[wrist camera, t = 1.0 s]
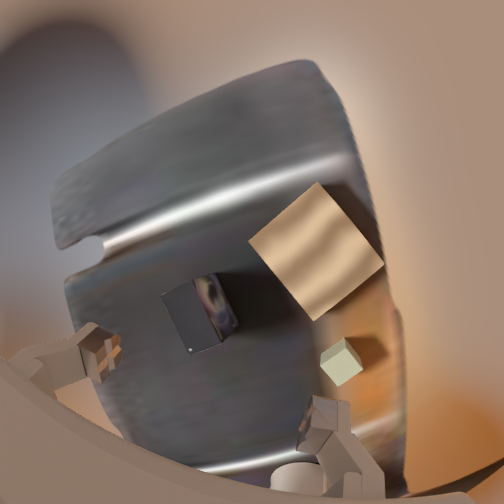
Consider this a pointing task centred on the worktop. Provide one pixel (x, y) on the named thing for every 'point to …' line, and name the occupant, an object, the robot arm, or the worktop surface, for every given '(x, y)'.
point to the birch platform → (316, 251)
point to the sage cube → (341, 362)
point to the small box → (200, 313)
